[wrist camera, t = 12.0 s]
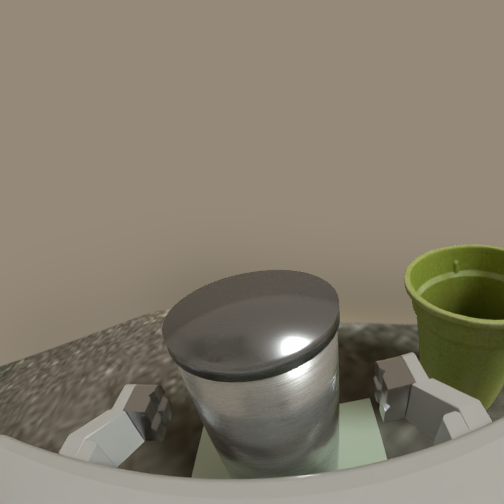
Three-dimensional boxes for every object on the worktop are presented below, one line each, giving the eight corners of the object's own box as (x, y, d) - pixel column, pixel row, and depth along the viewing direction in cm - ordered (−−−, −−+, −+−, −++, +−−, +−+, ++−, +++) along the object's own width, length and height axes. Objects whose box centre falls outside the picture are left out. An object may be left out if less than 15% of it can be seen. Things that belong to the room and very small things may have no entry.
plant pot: (468, 467, 10) (524, 349, 8) (368, 391, 19) (370, 279, 16) (533, 377, 13) (566, 267, 11) (446, 333, 22) (455, 235, 19)
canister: (228, 517, 11) (136, 369, 8) (239, 438, 17) (186, 280, 13) (344, 510, 11) (357, 349, 7) (334, 429, 16) (324, 261, 12)
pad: (178, 546, 10) (175, 544, 10) (207, 419, 19) (206, 415, 19) (402, 532, 8) (403, 530, 8) (369, 401, 18) (369, 398, 18)
